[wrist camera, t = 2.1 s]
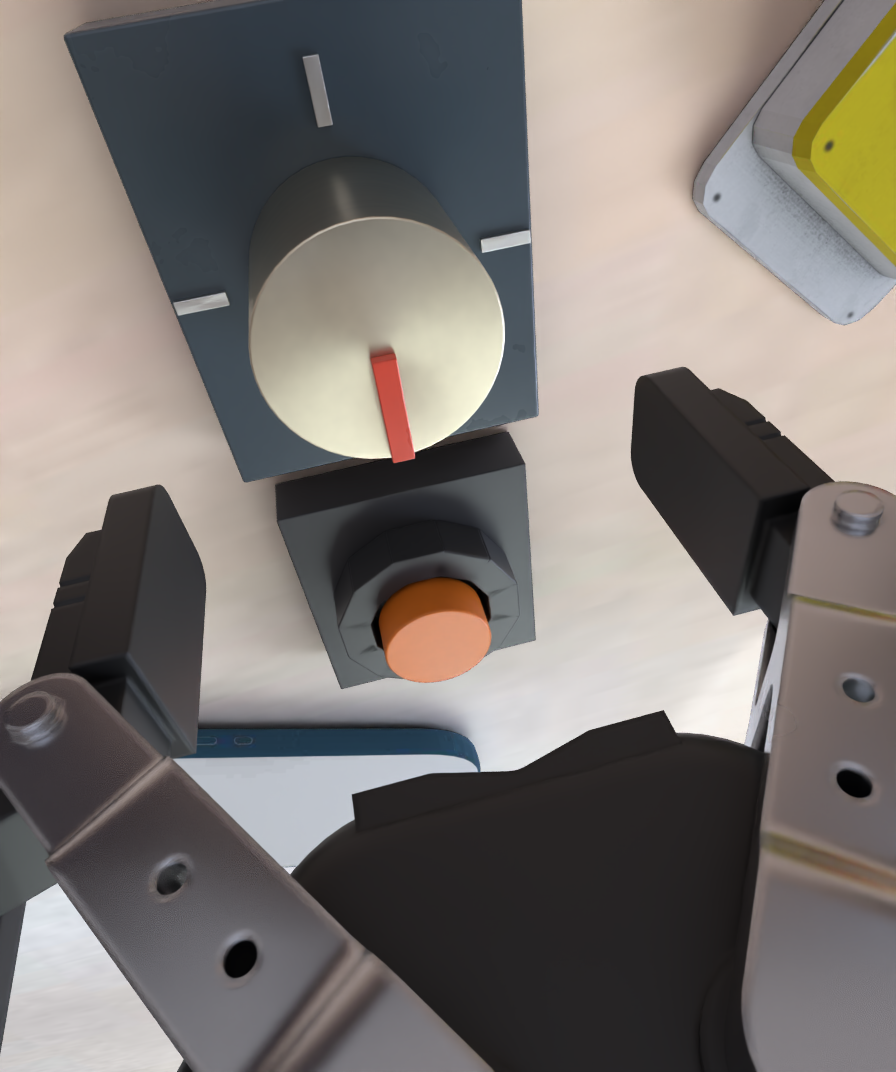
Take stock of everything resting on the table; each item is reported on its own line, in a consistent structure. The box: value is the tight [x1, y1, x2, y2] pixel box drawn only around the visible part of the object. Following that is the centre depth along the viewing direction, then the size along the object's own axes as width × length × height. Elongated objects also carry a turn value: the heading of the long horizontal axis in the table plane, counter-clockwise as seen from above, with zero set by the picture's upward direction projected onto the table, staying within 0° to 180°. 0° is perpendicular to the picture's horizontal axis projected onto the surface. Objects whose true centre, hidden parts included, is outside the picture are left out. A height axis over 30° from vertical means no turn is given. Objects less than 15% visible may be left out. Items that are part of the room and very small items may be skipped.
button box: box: [275, 432, 536, 689], centre depth 28 cm, size 10×9×4 cm
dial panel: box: [64, 0, 539, 482], centre depth 20 cm, size 12×10×3 cm
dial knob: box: [249, 157, 505, 463], centre depth 17 cm, size 6×6×5 cm
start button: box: [379, 577, 491, 683], centre depth 26 cm, size 4×4×2 cm
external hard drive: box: [173, 729, 480, 867], centre depth 37 cm, size 24×12×2 cm, turn 73°
